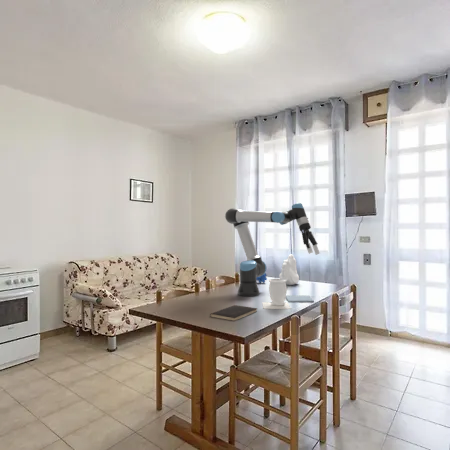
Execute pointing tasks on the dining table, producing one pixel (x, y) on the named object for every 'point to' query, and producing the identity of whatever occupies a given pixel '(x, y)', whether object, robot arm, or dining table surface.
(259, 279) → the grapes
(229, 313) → the hardcover book
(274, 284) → the jar
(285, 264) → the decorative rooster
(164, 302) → the dining table surface
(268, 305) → the tile
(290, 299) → the mat
